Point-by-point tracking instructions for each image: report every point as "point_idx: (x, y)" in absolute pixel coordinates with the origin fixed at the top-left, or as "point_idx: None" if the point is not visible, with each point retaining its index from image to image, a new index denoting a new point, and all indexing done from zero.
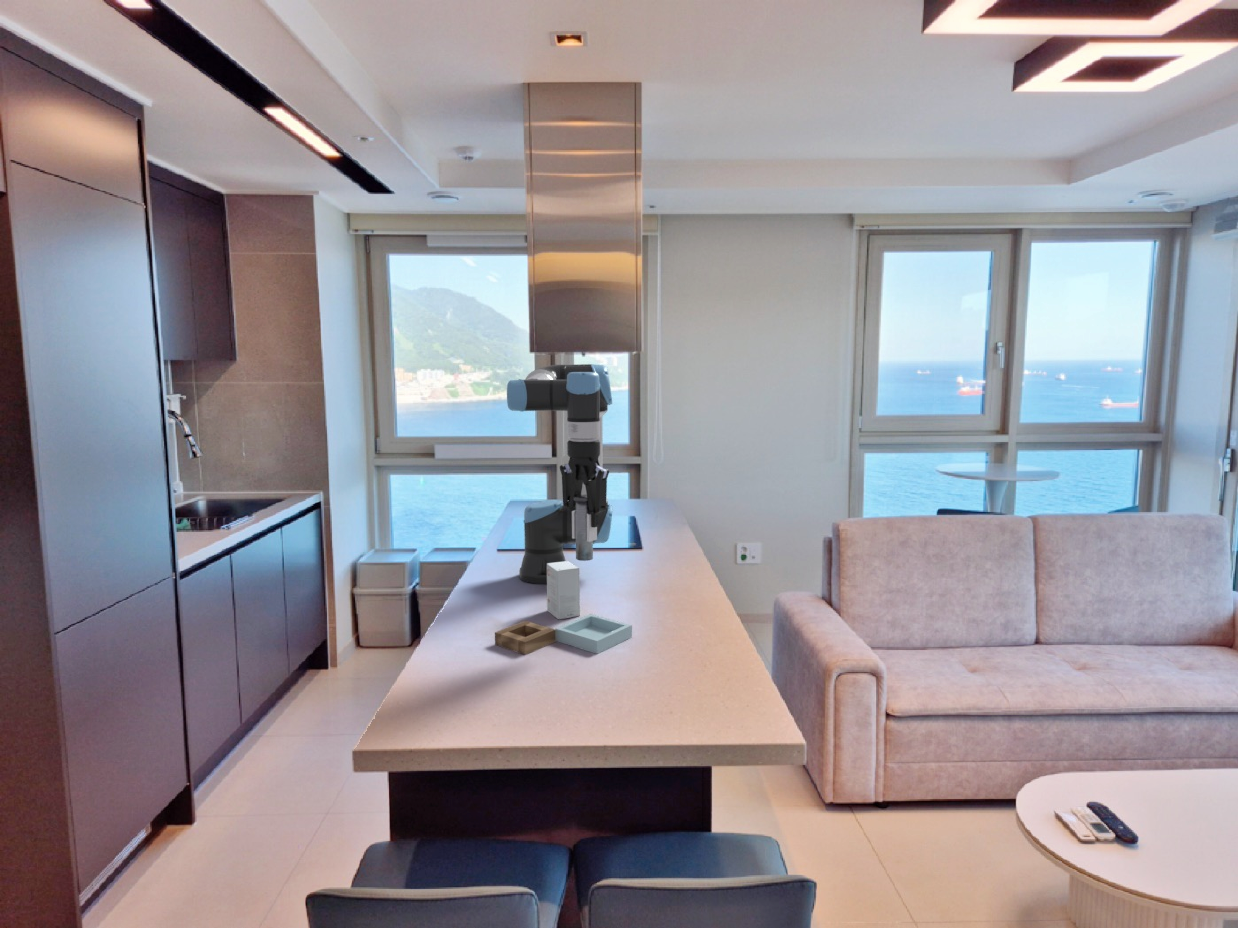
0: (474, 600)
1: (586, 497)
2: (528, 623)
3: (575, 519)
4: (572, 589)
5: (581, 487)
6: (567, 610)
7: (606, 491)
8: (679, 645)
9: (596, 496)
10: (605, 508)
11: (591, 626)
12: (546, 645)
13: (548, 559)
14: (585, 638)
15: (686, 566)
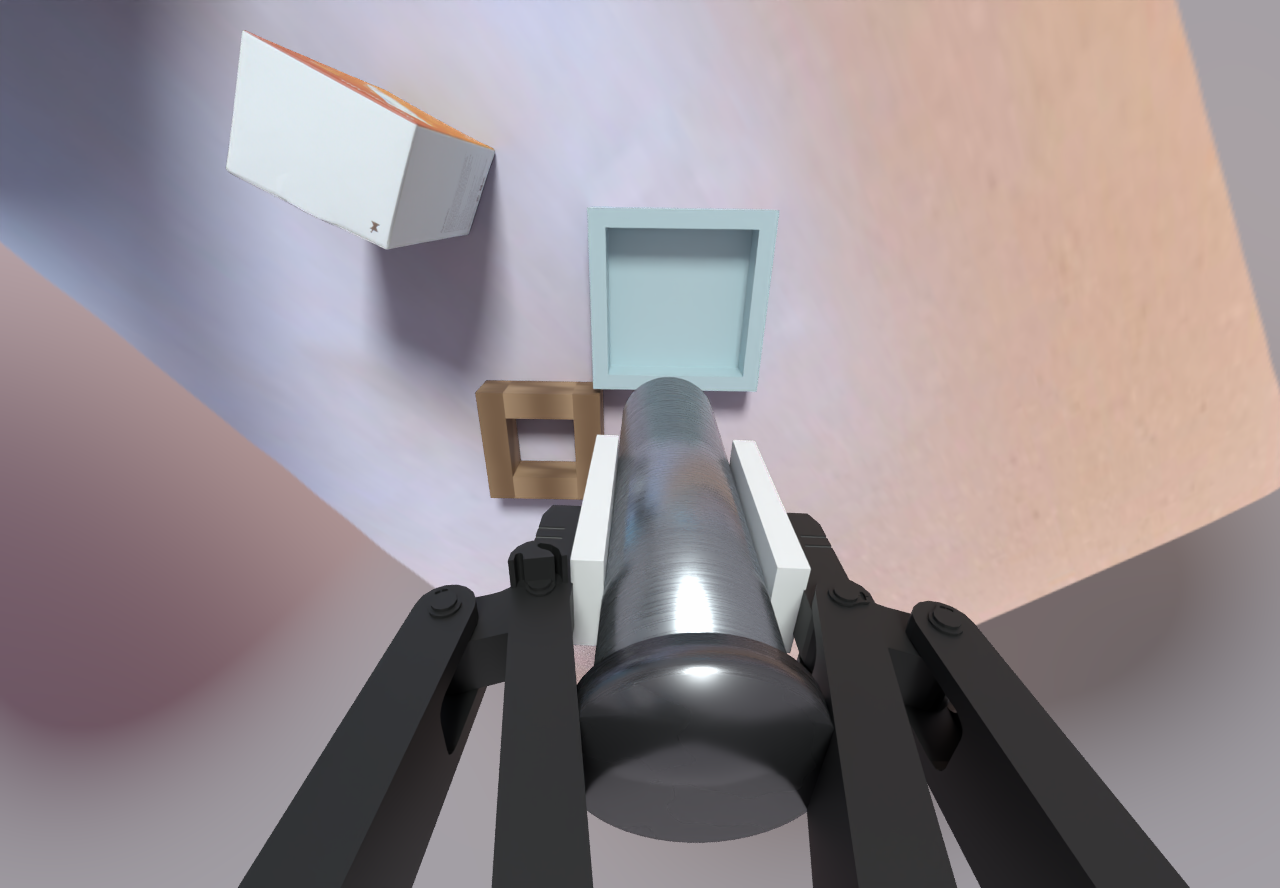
0: (105, 267)
1: (770, 791)
2: (502, 404)
3: None
4: (449, 176)
5: (588, 860)
6: (472, 200)
7: (1166, 862)
8: (943, 170)
9: (982, 861)
10: (971, 632)
11: (614, 232)
12: (603, 415)
13: None
14: (711, 389)
15: None
